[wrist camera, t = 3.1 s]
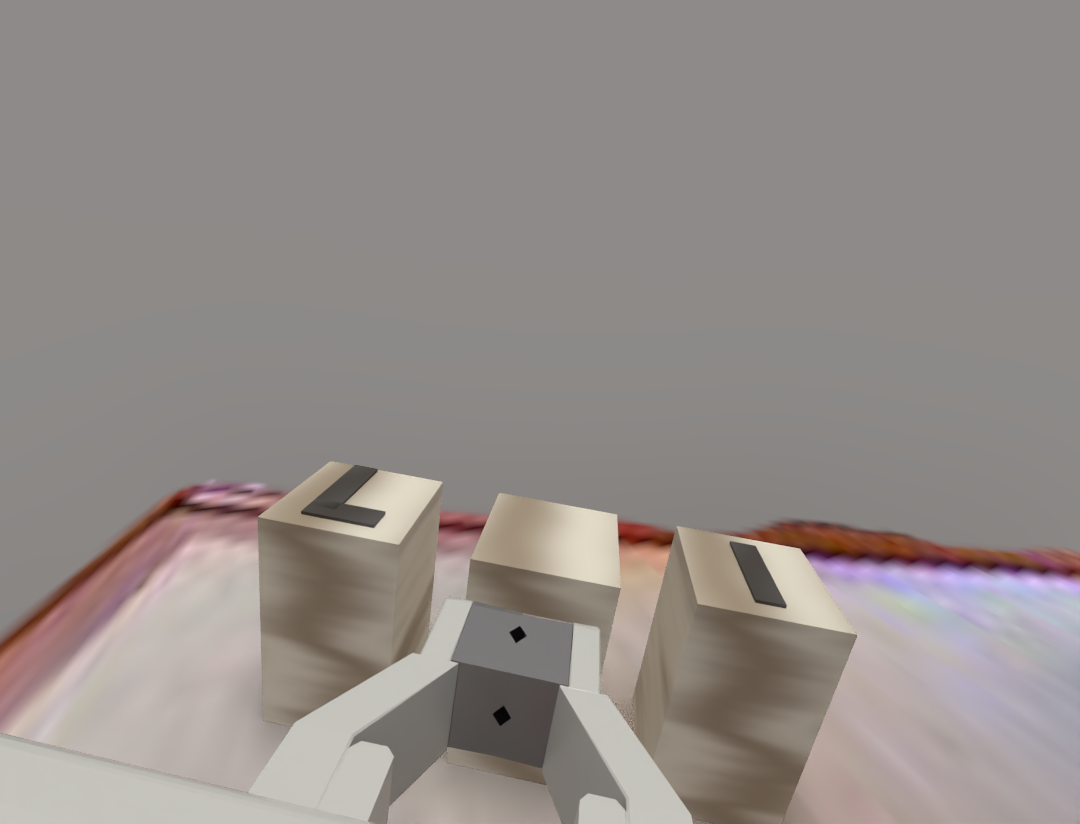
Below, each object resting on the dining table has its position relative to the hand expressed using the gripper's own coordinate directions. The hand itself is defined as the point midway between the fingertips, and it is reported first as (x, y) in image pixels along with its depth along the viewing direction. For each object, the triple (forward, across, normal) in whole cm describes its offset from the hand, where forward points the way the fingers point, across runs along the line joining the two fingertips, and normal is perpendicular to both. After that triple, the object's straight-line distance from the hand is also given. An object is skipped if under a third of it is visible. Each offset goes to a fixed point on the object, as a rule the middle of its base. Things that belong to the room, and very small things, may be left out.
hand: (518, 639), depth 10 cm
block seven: (+12, +8, +16) cm, 22 cm away
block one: (+12, -9, +16) cm, 22 cm away
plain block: (+12, 0, +16) cm, 20 cm away
